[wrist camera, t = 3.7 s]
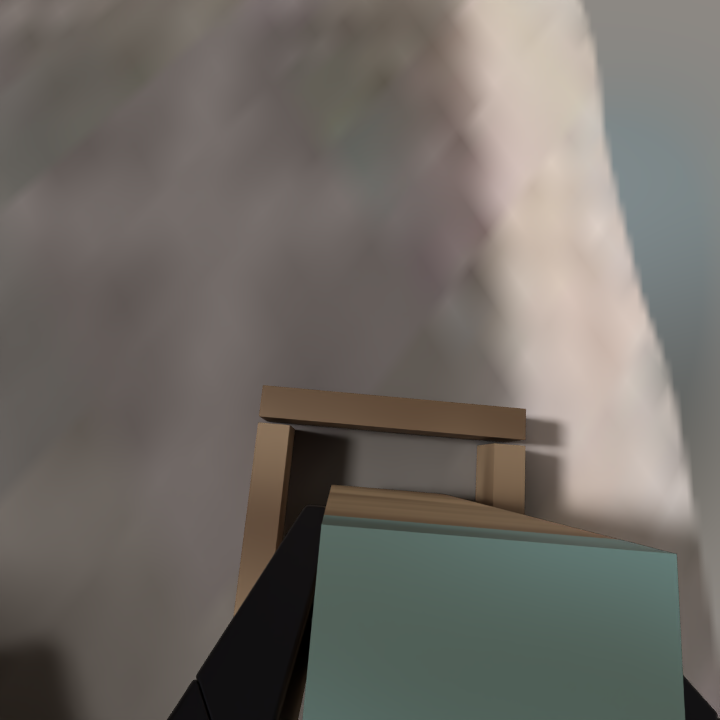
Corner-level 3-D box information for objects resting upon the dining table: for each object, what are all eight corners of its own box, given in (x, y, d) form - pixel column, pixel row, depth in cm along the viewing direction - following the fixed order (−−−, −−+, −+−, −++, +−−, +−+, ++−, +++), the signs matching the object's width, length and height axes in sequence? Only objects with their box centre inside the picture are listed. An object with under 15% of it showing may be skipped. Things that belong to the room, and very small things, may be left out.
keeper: (499, 661, 16) (522, 687, 14) (240, 641, 16) (227, 665, 14) (505, 414, 18) (525, 408, 16) (271, 393, 18) (262, 385, 16)
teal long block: (437, 616, 15) (699, 999, 4) (319, 607, 15) (278, 976, 4) (443, 494, 16) (676, 553, 5) (331, 484, 16) (321, 524, 5)
